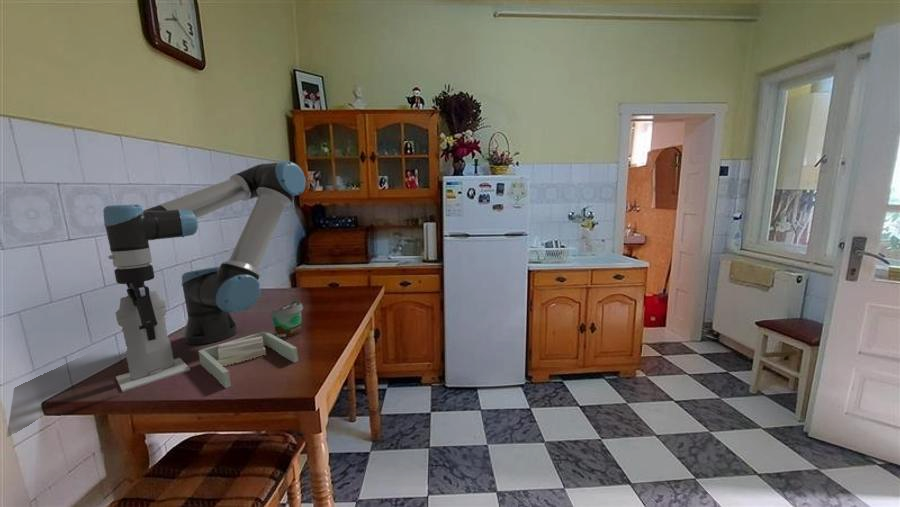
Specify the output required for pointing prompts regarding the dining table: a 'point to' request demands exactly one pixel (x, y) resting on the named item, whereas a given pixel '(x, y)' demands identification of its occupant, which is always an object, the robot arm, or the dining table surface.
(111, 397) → the dining table surface
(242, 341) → the offcut upper
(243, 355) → the offcut lower
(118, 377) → the mat
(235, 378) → the dining table surface
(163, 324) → the tall pale column
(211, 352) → the rack
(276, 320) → the food container
